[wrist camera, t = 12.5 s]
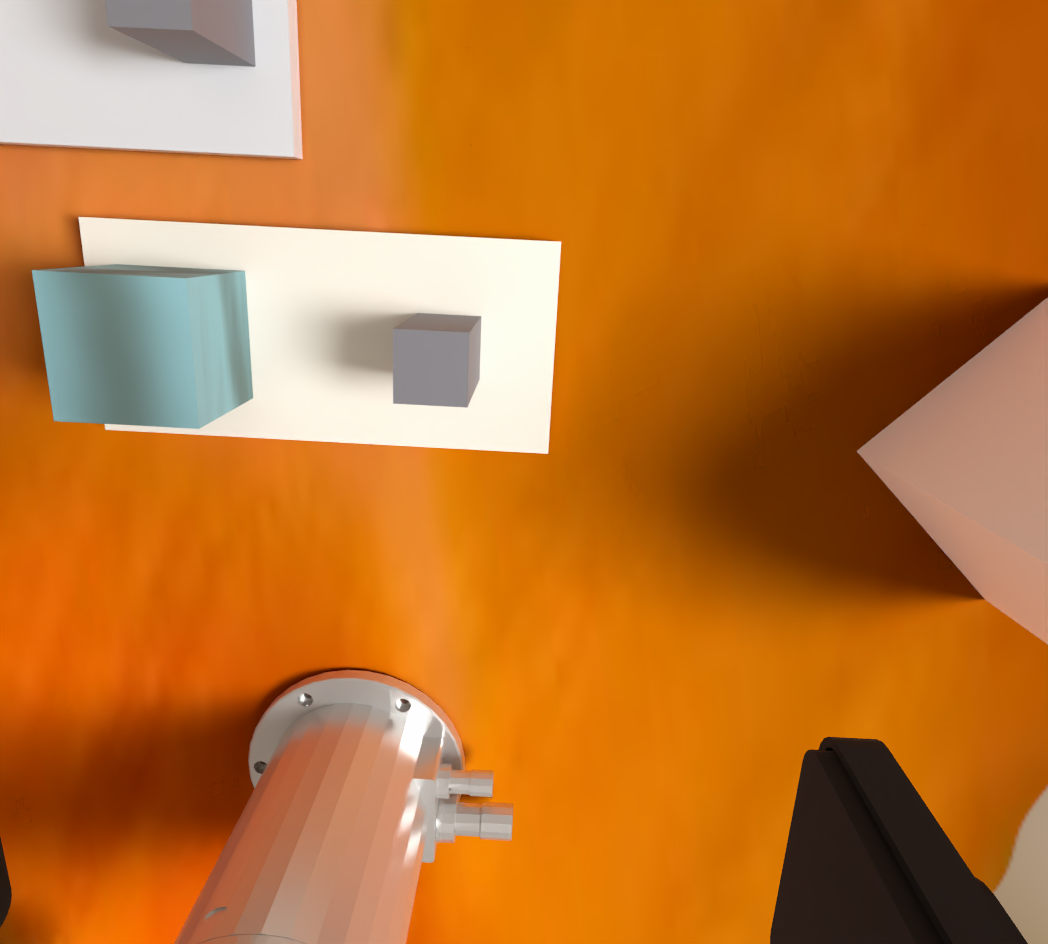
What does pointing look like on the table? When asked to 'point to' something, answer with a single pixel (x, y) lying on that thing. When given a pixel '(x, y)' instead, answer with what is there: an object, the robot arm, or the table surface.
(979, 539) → the milk
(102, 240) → the strip
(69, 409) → the block
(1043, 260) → the table surface
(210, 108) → the empty strip
